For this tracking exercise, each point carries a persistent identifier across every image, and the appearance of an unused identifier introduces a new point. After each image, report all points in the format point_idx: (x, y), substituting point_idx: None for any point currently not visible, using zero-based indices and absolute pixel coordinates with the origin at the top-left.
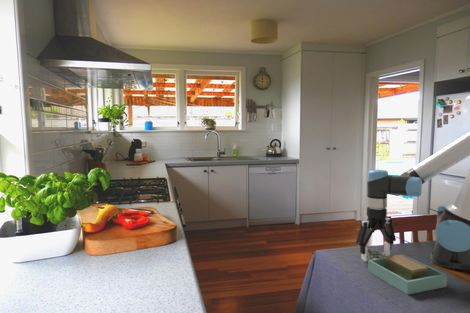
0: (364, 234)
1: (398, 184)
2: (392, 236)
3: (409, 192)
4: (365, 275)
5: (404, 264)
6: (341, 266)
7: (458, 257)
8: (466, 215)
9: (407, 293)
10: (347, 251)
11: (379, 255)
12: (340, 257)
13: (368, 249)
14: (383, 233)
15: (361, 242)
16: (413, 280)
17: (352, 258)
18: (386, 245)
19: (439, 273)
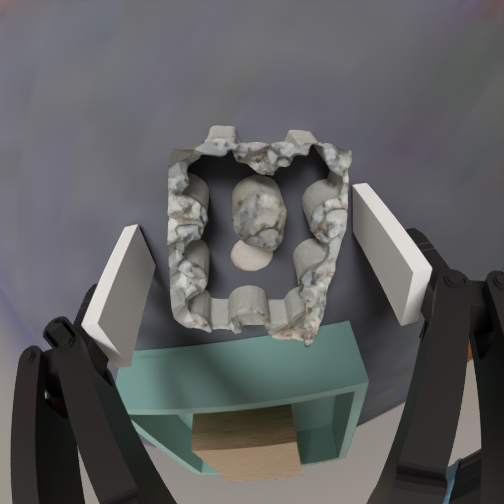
0: (74, 481)
1: None
2: (475, 366)
3: None
4: (108, 363)
5: (237, 473)
6: (11, 283)
7: None
8: None
9: None
10: (80, 23)
11: (310, 199)
12: (3, 162)
13: (233, 151)
14: (405, 419)
15: (62, 407)
16: (218, 473)
17: (73, 180)
18: (395, 279)
19: (338, 451)
